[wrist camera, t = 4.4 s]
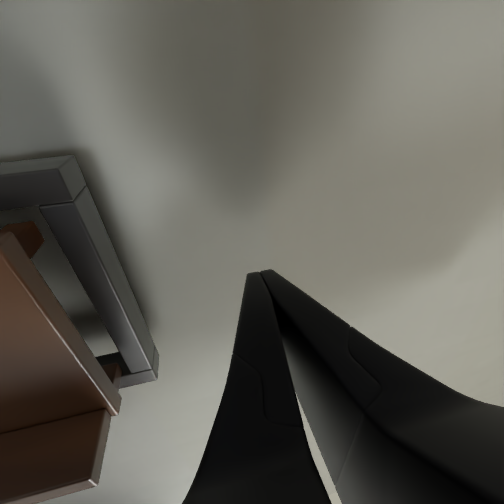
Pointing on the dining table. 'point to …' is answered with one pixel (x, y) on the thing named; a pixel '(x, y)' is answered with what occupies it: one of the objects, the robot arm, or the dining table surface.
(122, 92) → the dining table surface
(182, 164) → the dining table surface
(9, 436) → the brown box
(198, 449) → the dining table surface
